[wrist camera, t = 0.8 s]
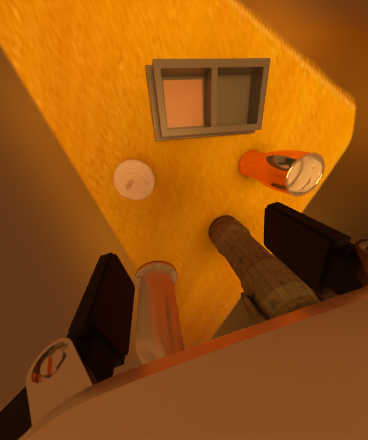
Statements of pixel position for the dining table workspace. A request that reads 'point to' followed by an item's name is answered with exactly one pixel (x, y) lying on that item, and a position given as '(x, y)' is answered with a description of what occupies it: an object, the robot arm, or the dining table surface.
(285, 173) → the beer glass
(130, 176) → the smoothie
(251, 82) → the drink carrier
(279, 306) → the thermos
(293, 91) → the dining table surface
